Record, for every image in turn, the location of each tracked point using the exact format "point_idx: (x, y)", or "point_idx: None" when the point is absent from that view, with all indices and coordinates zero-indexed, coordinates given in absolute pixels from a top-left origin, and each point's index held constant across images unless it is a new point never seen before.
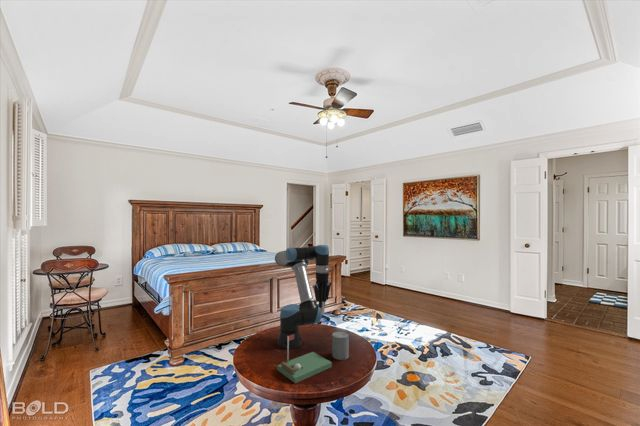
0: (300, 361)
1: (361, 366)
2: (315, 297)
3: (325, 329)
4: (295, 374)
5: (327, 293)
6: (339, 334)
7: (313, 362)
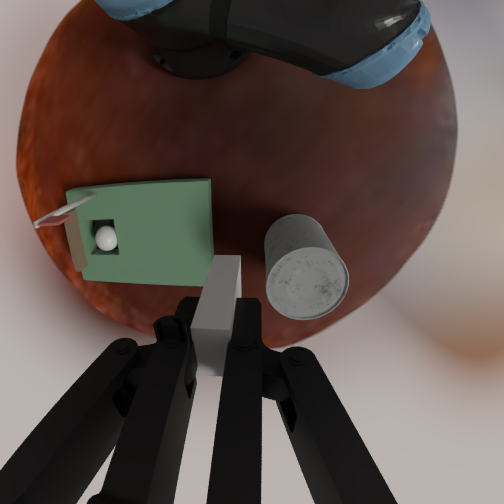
0: (128, 215)
1: (289, 326)
2: (85, 374)
3: None
4: (89, 267)
5: (300, 464)
6: (308, 278)
7: (160, 248)
